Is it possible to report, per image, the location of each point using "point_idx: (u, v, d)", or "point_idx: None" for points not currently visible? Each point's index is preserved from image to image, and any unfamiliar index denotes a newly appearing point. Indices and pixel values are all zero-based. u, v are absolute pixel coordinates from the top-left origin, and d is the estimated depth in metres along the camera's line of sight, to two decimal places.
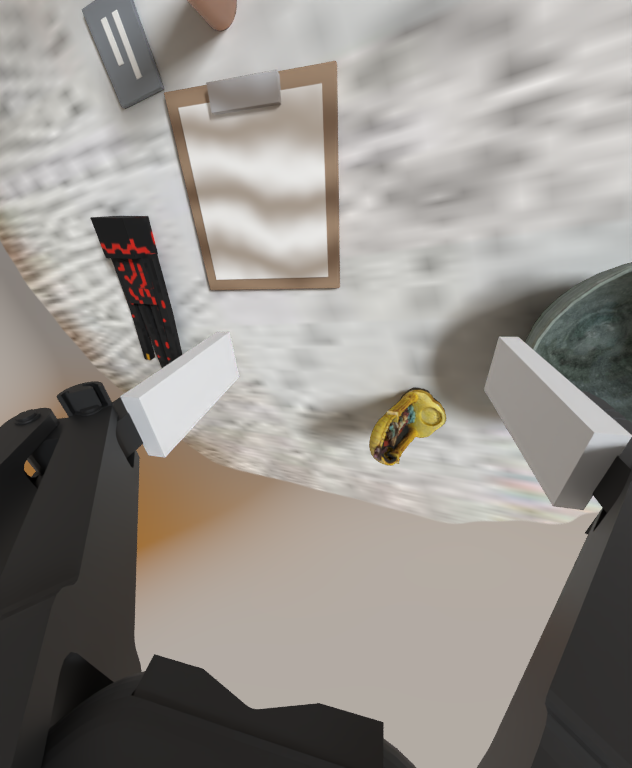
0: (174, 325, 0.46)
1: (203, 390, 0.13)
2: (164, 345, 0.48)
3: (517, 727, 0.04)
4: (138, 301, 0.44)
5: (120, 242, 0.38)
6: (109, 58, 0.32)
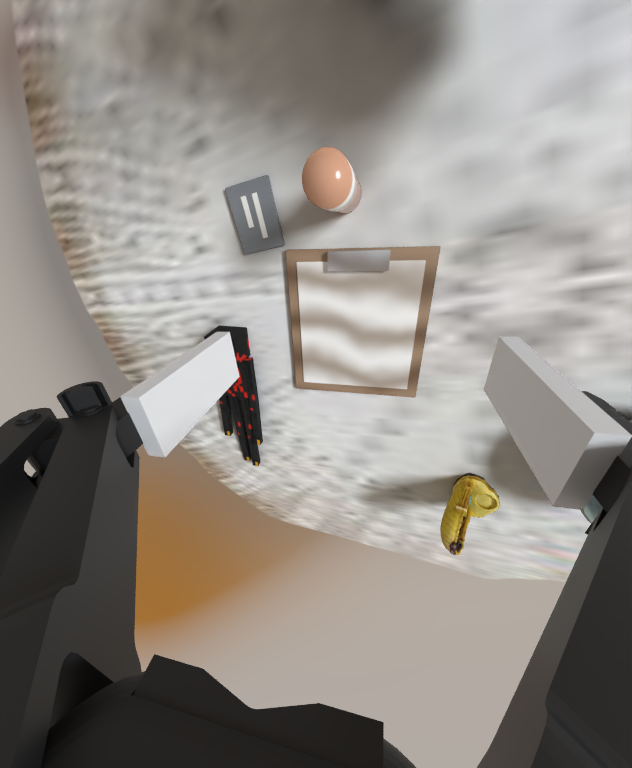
0: (259, 411, 0.52)
1: (203, 390, 0.13)
2: (247, 426, 0.54)
3: (517, 727, 0.04)
4: (231, 394, 0.50)
5: None
6: (241, 222, 0.38)
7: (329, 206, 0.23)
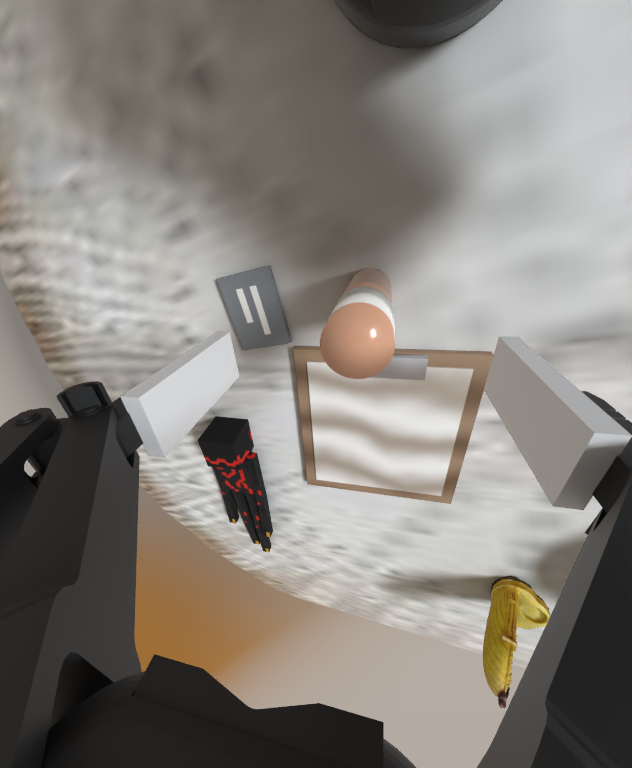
0: (267, 504, 0.45)
1: (203, 390, 0.13)
2: (254, 517, 0.47)
3: (517, 727, 0.04)
4: (233, 489, 0.43)
5: (226, 458, 0.37)
6: (238, 316, 0.30)
7: (360, 377, 0.16)
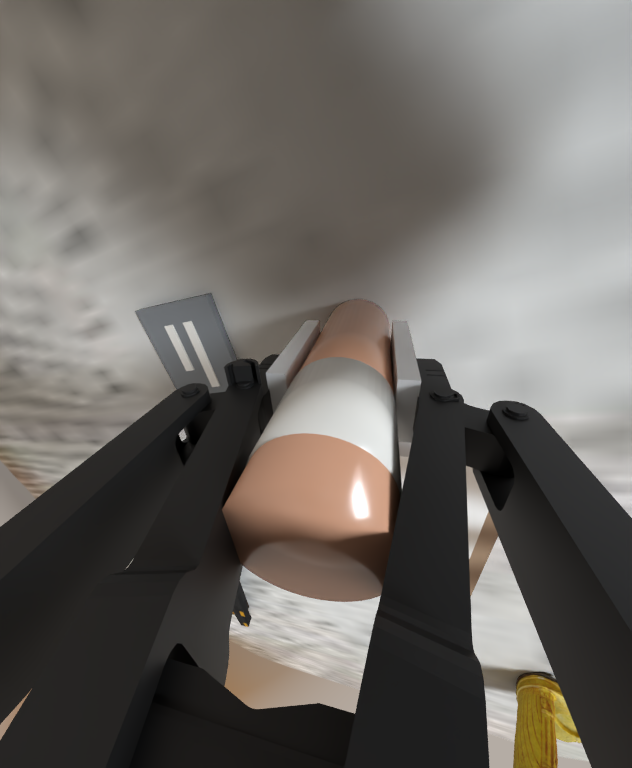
0: None
1: None
2: None
3: None
4: None
5: None
6: (172, 361, 0.21)
7: (322, 597, 0.07)
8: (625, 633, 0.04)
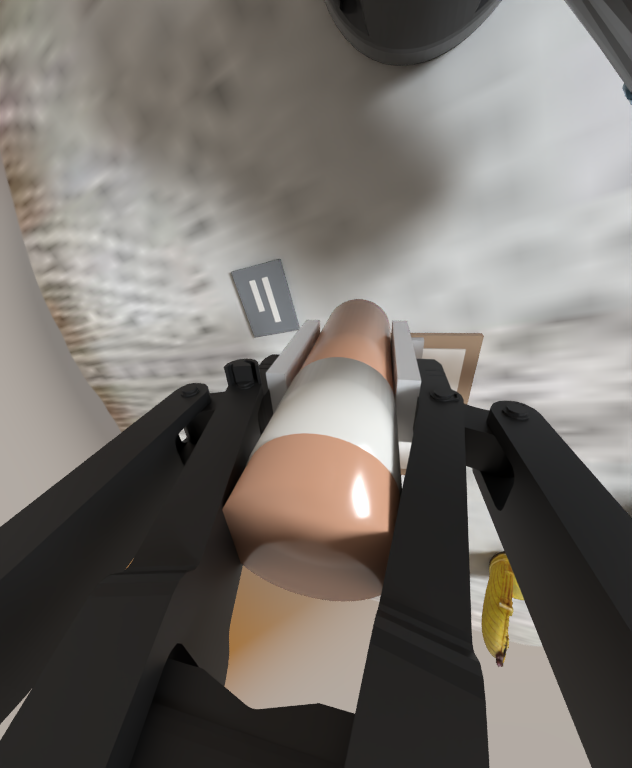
0: None
1: None
2: None
3: None
4: None
5: None
6: (250, 305, 0.33)
7: (322, 597, 0.07)
8: (625, 632, 0.04)
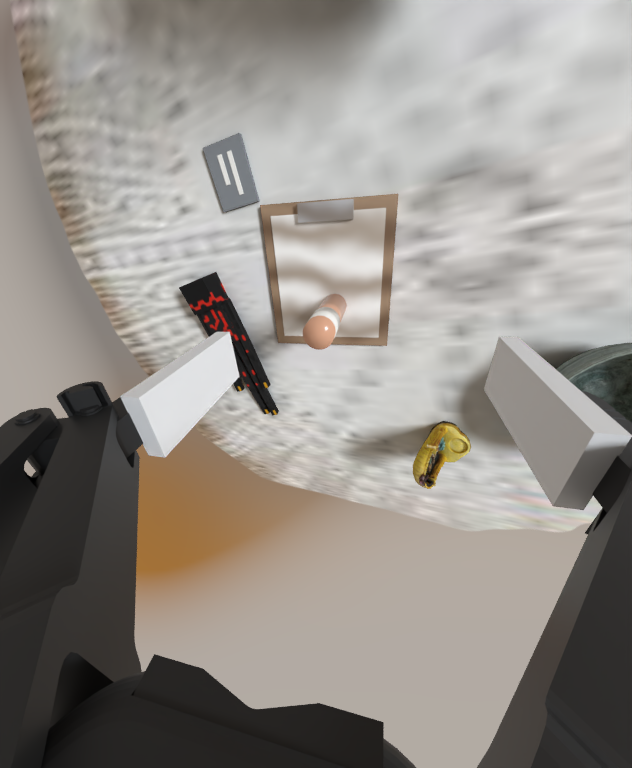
0: (255, 353, 0.54)
1: (203, 390, 0.13)
2: (251, 373, 0.56)
3: (517, 727, 0.04)
4: None
5: (203, 298, 0.47)
6: (219, 180, 0.41)
7: (320, 348, 0.36)
8: None
